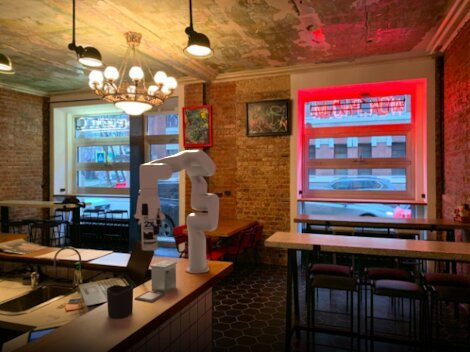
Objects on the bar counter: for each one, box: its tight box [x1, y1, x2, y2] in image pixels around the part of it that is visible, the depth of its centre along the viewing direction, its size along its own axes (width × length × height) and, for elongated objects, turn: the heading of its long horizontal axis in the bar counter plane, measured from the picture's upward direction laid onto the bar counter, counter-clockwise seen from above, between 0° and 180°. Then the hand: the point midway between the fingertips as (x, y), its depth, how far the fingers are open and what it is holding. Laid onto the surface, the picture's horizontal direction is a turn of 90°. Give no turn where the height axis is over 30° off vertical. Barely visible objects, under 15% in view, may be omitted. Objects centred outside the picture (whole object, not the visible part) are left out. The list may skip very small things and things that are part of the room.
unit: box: [150, 259, 178, 295], centre depth 152 cm, size 10×8×12 cm
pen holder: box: [106, 284, 134, 320], centre depth 125 cm, size 9×9×10 cm
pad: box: [134, 290, 166, 303], centre depth 142 cm, size 9×9×1 cm
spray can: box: [140, 203, 159, 252], centre depth 142 cm, size 7×7×20 cm
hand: (149, 233), depth 142 cm, fingers closed on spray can, 6 cm apart
